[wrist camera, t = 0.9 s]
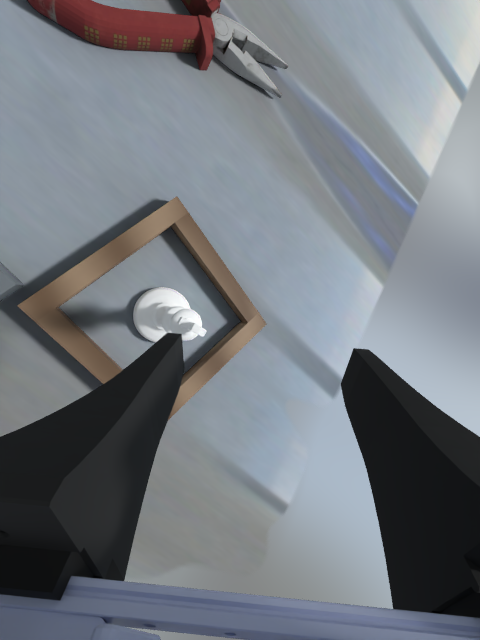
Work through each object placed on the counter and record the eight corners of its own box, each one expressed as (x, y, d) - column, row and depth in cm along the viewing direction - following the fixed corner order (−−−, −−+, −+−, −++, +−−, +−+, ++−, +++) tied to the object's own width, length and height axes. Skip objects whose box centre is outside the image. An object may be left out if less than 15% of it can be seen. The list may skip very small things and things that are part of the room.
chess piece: (173, 351, 25) (212, 384, 16) (122, 327, 23) (131, 350, 14) (199, 304, 25) (249, 310, 16) (151, 276, 23) (178, 266, 14)
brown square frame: (153, 424, 24) (156, 431, 23) (23, 304, 20) (17, 305, 18) (259, 322, 28) (266, 324, 27) (172, 201, 23) (177, 196, 22)
